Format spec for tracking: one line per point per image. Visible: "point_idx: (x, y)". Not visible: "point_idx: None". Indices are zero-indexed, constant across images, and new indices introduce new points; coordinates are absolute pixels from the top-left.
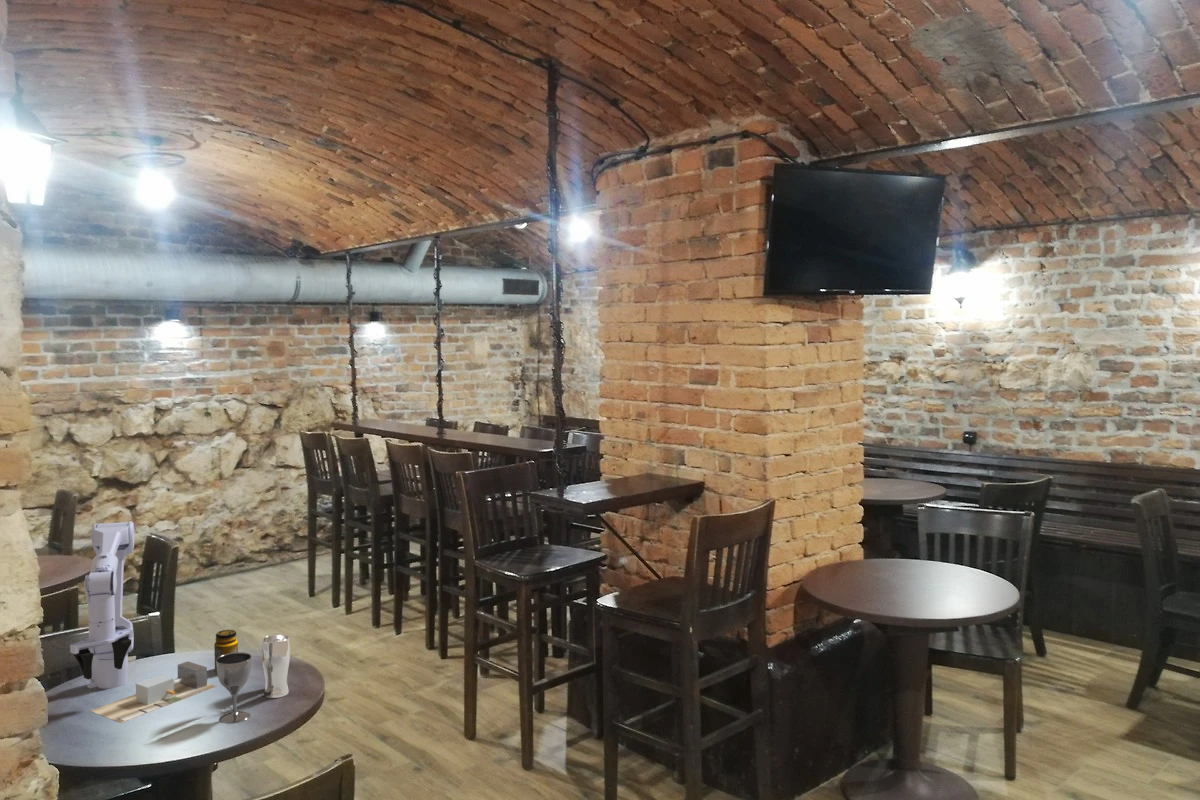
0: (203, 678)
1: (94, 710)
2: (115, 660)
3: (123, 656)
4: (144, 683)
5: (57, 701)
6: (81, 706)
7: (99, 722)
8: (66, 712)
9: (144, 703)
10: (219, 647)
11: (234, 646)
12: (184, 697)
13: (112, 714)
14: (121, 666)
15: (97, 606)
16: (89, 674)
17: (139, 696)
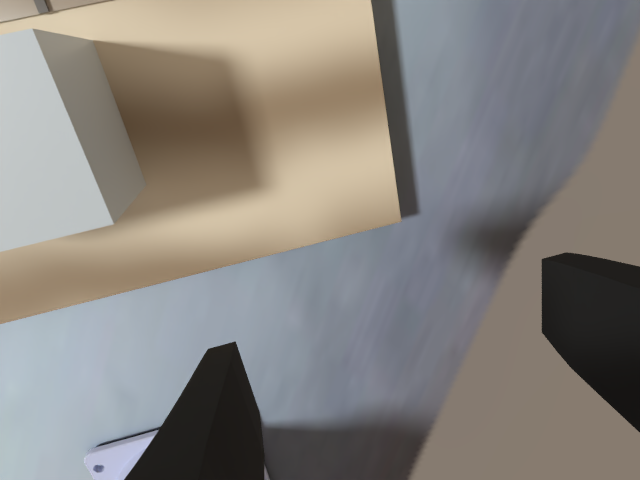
0: None
1: (383, 205)
2: (255, 477)
3: (165, 453)
4: (41, 169)
5: (419, 455)
6: (374, 350)
7: (395, 72)
8: (446, 323)
9: (109, 87)
10: None
11: None
12: None
13: (333, 59)
14: (210, 357)
15: None
16: (612, 264)
17: (121, 152)
